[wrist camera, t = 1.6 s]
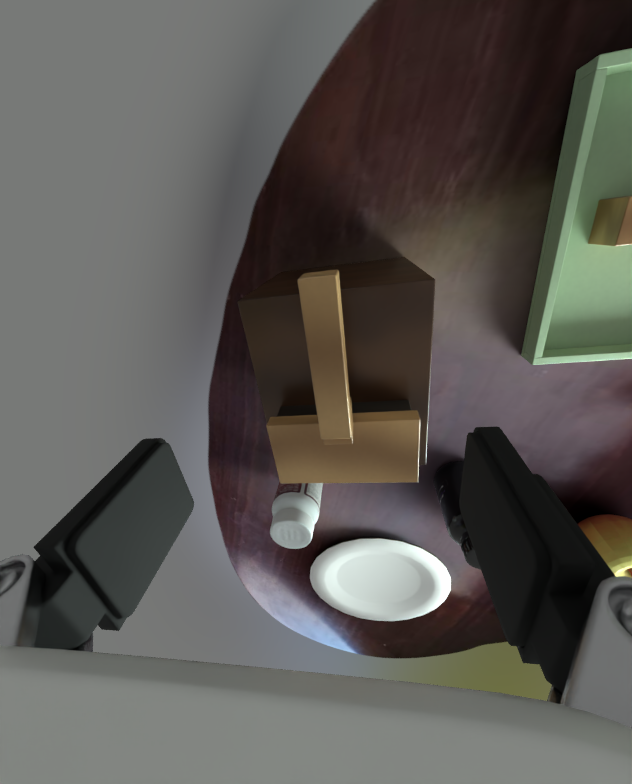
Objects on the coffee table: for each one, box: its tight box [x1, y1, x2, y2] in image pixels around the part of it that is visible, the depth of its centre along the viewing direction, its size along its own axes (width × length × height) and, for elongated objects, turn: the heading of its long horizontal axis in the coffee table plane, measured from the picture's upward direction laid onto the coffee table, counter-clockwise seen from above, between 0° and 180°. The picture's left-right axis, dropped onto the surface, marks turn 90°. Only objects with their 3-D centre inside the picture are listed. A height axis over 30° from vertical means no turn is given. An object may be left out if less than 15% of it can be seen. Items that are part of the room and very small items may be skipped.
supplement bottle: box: [434, 461, 481, 569], centre depth 39 cm, size 7×7×12 cm
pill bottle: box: [270, 482, 323, 549], centre depth 42 cm, size 6×6×11 cm
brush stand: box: [238, 257, 435, 465], centre depth 30 cm, size 15×13×14 cm
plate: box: [310, 537, 451, 621], centre depth 56 cm, size 25×25×2 cm
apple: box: [578, 514, 632, 578], centre depth 42 cm, size 10×10×8 cm
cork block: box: [588, 195, 632, 246], centre depth 26 cm, size 4×4×4 cm
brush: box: [266, 269, 420, 483], centre depth 20 cm, size 16×11×6 cm
